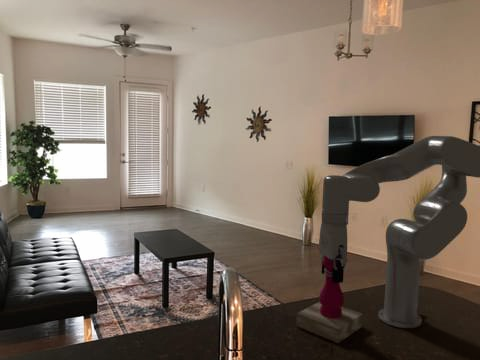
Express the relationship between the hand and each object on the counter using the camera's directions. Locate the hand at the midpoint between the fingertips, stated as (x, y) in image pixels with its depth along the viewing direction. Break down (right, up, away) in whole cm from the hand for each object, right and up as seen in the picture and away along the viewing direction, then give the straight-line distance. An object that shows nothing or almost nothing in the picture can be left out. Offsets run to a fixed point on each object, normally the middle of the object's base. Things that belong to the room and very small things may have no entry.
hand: (331, 277), depth 121 cm
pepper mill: (0, -11, +1) cm, 11 cm away
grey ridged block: (0, -15, +2) cm, 15 cm away
